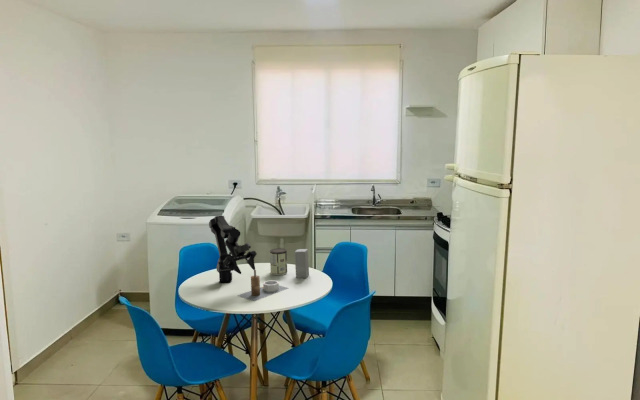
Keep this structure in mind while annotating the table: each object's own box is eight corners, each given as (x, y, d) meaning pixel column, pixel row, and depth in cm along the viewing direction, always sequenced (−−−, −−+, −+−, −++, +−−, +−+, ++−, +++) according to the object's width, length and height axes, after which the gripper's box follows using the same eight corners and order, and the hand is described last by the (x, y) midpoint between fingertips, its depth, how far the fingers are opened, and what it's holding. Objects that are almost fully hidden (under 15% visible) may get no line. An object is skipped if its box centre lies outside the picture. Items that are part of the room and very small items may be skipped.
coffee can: (277, 269, 274) (276, 247, 272) (290, 272, 269) (290, 249, 267) (266, 273, 265) (266, 250, 264) (280, 276, 260) (279, 253, 258)
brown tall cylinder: (251, 296, 223) (250, 271, 222) (251, 293, 228) (250, 268, 226) (259, 295, 224) (258, 271, 222) (260, 293, 228) (259, 268, 226)
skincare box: (306, 278, 255) (306, 252, 253) (294, 277, 256) (294, 251, 254) (309, 274, 263) (309, 248, 261) (298, 273, 265) (297, 248, 263)
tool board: (254, 303, 216) (253, 294, 216) (236, 297, 224) (236, 289, 224) (289, 289, 235) (289, 281, 235) (272, 285, 244) (271, 277, 243)
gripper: (225, 241, 223) (239, 266, 217) (254, 235, 236) (268, 259, 230) (216, 254, 229) (230, 279, 223) (245, 247, 243) (258, 270, 237)
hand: (247, 271), depth 228 cm, fingers open, 9 cm apart
